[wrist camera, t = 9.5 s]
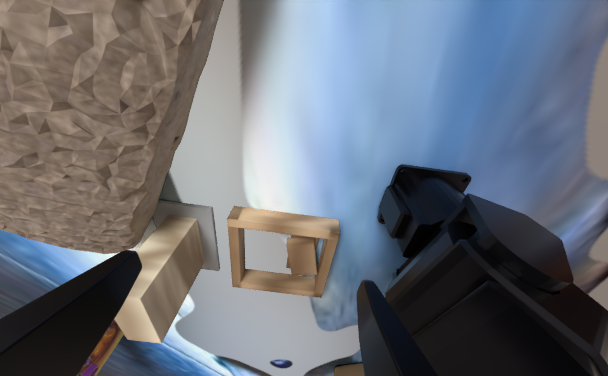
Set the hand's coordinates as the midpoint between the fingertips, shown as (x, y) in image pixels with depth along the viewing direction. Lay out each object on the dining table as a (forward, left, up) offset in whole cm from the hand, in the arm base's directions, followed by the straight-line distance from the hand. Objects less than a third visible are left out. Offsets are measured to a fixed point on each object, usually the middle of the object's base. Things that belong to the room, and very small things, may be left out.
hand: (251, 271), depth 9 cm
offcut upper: (-3, +13, -12) cm, 18 cm away
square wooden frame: (-1, +13, -12) cm, 18 cm away
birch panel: (+10, +13, -12) cm, 20 cm away
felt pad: (+10, +13, -12) cm, 21 cm away
